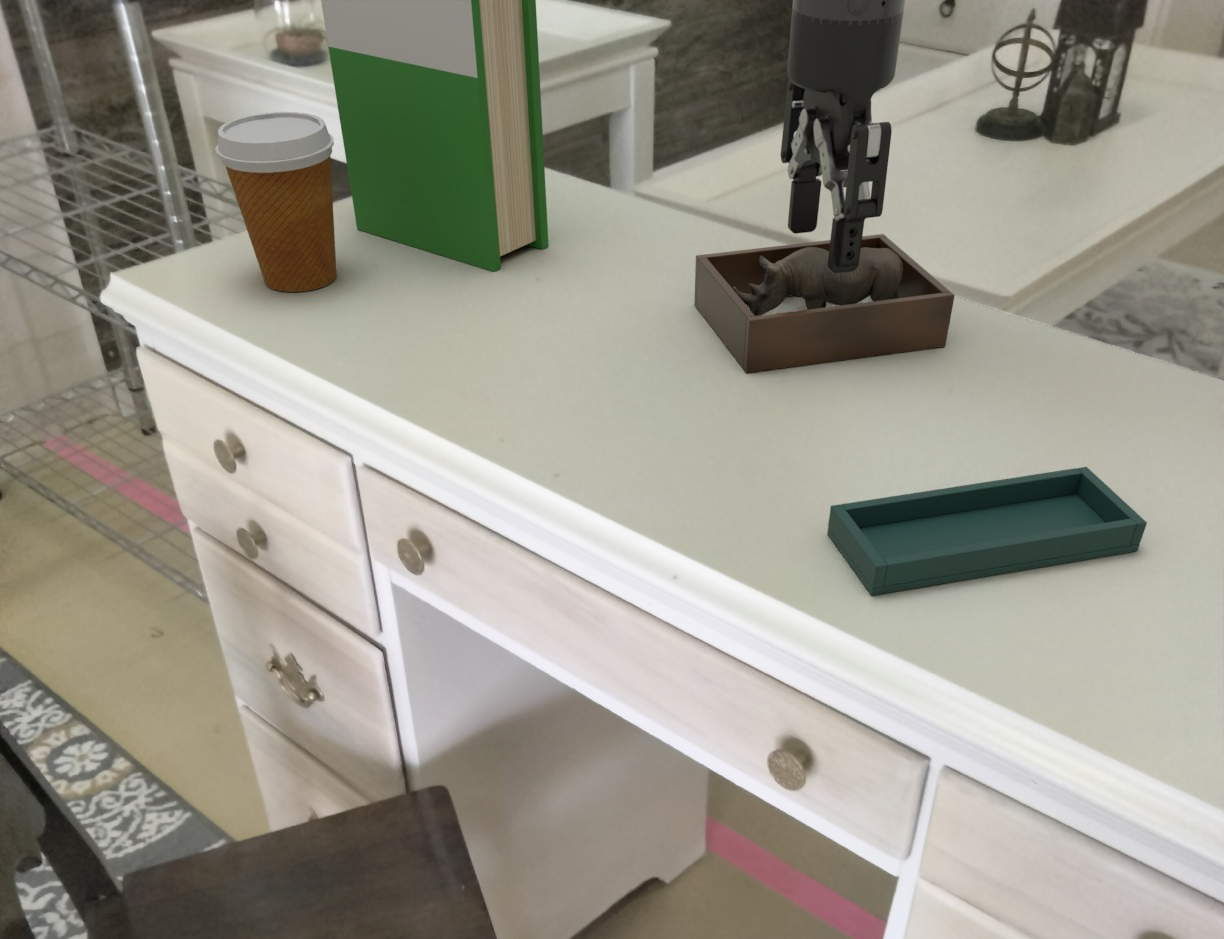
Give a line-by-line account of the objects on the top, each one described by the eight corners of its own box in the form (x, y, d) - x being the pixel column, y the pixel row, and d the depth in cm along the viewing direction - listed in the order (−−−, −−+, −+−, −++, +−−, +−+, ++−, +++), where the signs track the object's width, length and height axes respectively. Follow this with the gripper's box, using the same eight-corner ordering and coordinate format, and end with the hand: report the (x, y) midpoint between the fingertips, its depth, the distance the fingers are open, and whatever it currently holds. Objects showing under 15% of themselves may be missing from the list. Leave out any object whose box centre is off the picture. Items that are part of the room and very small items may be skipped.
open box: (877, 282, 103) (883, 233, 101) (945, 346, 94) (955, 294, 91) (694, 304, 101) (695, 255, 98) (746, 373, 91) (749, 320, 89)
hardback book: (548, 246, 111) (531, -76, 94) (493, 271, 106) (465, -61, 90) (412, 207, 119) (374, -96, 102) (357, 229, 114) (307, -83, 98)
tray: (1078, 494, 78) (1086, 466, 77) (1138, 551, 73) (1147, 522, 72) (827, 533, 75) (830, 505, 74) (871, 596, 70) (876, 566, 69)
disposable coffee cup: (279, 309, 101) (246, 152, 93) (226, 277, 107) (191, 126, 98) (376, 279, 106) (353, 127, 97) (320, 250, 111) (294, 103, 102)
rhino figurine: (729, 315, 99) (733, 238, 95) (897, 314, 99) (909, 237, 94) (731, 336, 96) (735, 258, 92) (904, 335, 96) (917, 256, 91)
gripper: (945, 22, 78) (904, 279, 89) (859, -23, 87) (832, 214, 99) (836, 30, 76) (808, 290, 88) (761, -17, 86) (745, 223, 98)
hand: (821, 250), depth 93 cm, fingers open, 8 cm apart
